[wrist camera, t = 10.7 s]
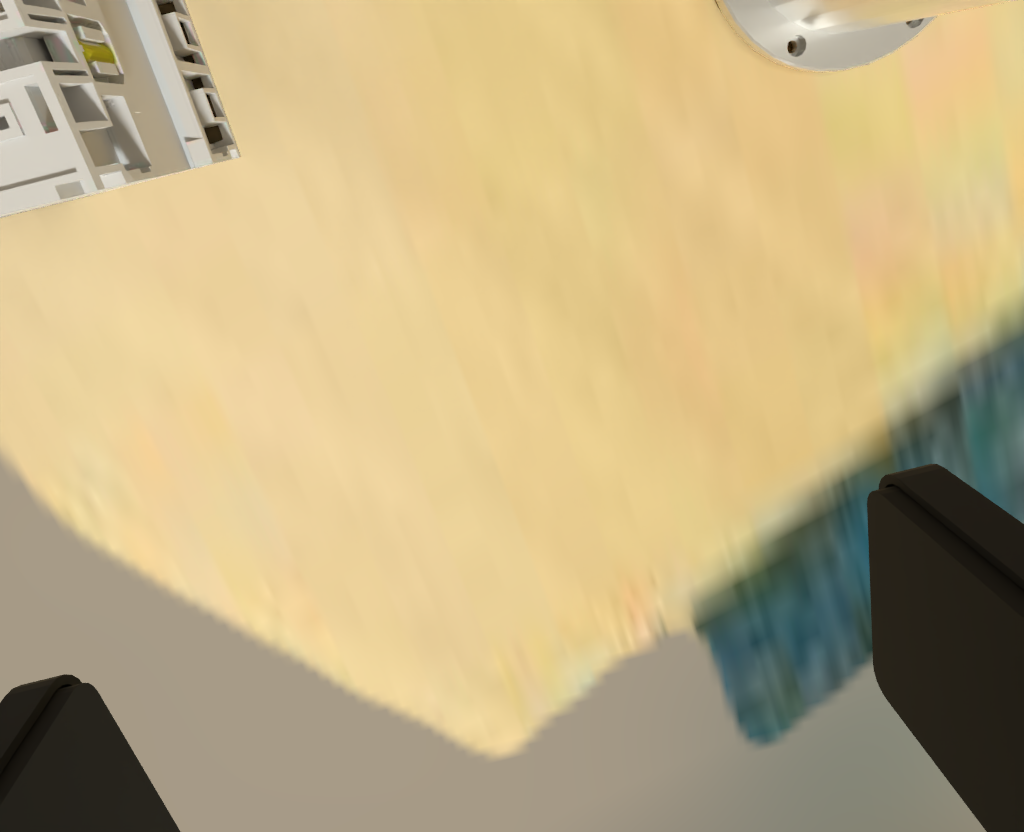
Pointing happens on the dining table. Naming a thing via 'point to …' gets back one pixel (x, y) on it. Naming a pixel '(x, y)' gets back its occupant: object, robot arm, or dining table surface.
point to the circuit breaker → (100, 99)
